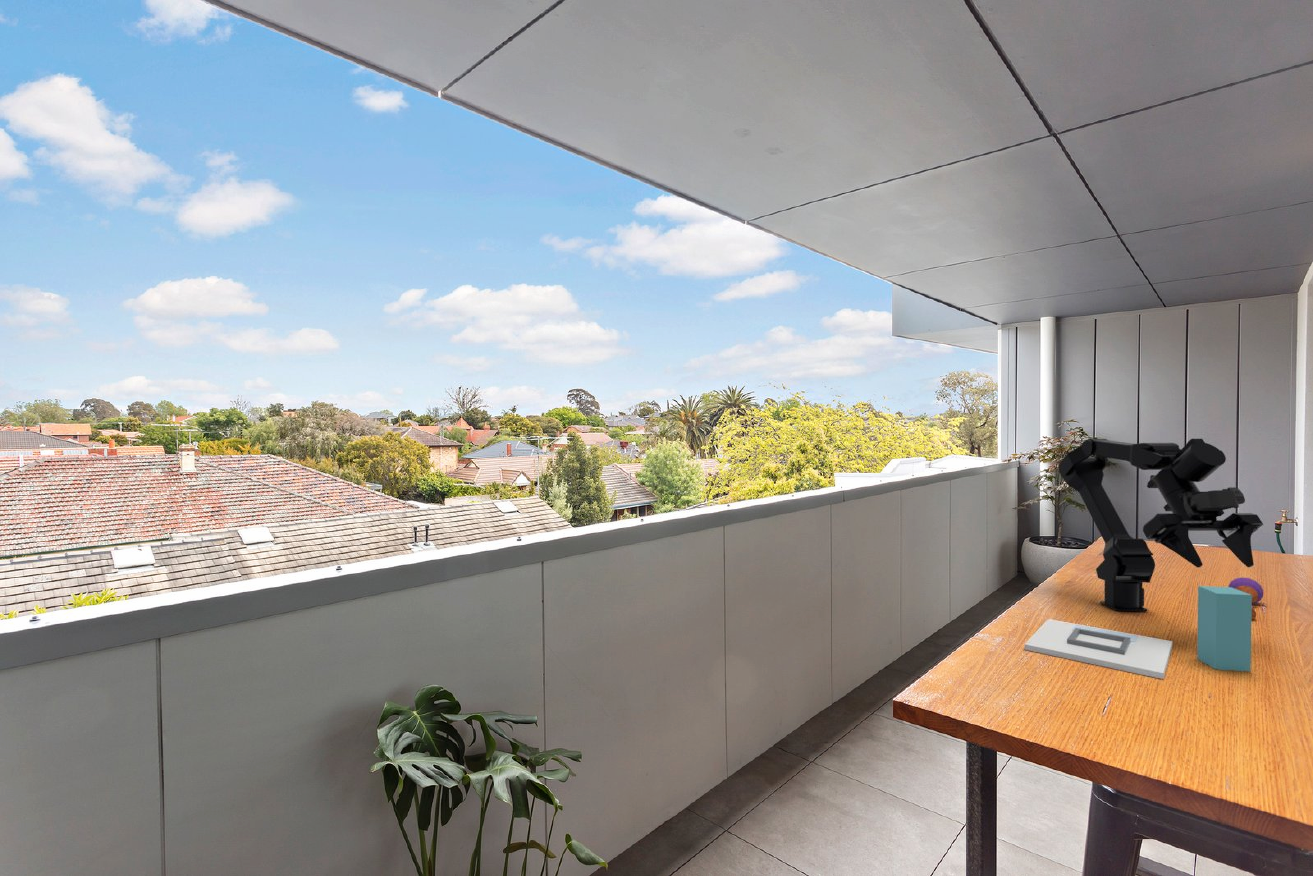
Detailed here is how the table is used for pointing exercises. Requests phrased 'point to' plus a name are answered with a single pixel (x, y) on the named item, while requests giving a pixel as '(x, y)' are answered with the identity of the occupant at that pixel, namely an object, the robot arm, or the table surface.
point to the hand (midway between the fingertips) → (1225, 566)
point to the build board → (1102, 647)
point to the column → (1224, 628)
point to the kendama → (1248, 590)
